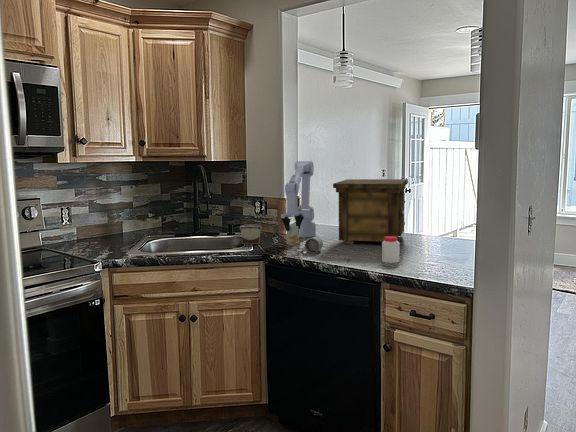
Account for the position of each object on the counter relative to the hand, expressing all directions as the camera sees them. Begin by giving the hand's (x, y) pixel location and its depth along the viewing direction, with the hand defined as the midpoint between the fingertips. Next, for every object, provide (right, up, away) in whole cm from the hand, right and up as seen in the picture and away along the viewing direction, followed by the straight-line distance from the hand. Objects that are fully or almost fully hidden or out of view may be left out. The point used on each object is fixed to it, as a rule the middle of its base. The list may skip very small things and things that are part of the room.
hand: (292, 230), depth 260 cm
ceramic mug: (+9, -11, -21) cm, 25 cm away
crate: (+44, -6, +6) cm, 45 cm away
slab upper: (0, -5, +1) cm, 6 cm away
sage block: (0, -3, +1) cm, 3 cm away
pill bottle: (+44, -13, -44) cm, 63 cm away
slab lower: (0, -8, +1) cm, 8 cm away
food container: (-23, -8, +7) cm, 25 cm away
